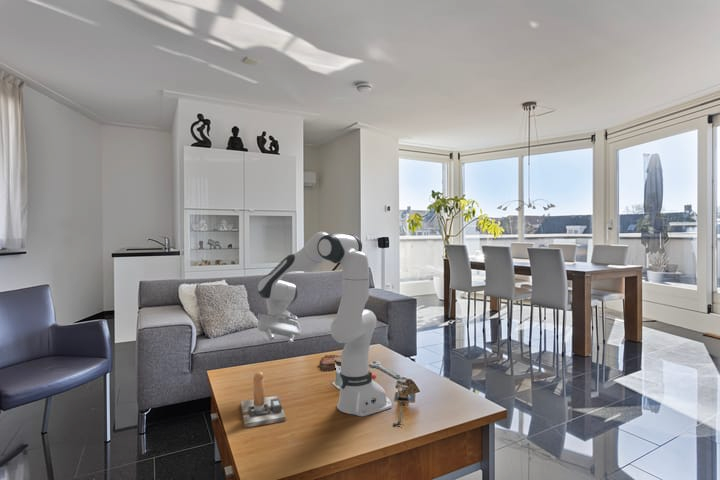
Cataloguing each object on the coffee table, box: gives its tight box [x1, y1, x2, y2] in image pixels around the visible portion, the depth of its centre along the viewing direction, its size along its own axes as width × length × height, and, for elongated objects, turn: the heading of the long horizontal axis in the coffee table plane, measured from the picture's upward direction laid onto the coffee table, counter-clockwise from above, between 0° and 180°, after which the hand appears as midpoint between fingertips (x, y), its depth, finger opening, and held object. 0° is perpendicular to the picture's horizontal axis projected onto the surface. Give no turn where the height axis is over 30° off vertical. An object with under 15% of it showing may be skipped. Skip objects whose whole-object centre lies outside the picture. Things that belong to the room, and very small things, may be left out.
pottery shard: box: [319, 354, 341, 372], centre depth 208 cm, size 16×16×4 cm
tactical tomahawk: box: [392, 400, 406, 428], centre depth 151 cm, size 21×7×1 cm, turn 167°
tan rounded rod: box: [253, 371, 265, 413], centre depth 150 cm, size 4×4×15 cm
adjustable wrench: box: [369, 360, 401, 379], centre depth 199 cm, size 25×6×2 cm, turn 26°
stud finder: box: [271, 397, 282, 413], centre depth 153 cm, size 3×7×2 cm, turn 21°
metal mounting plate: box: [240, 395, 287, 429], centre depth 153 cm, size 15×20×2 cm
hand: (281, 341), depth 167 cm, fingers open, 8 cm apart
